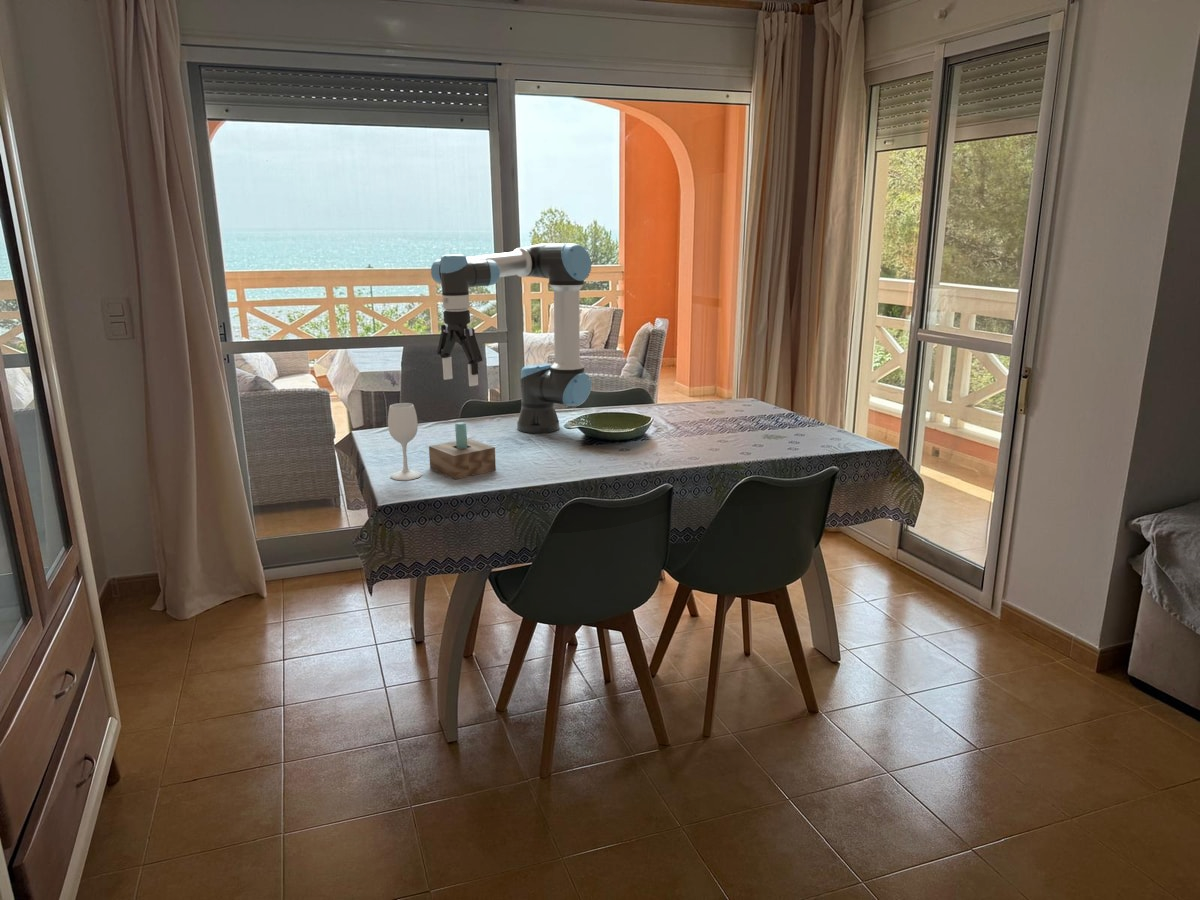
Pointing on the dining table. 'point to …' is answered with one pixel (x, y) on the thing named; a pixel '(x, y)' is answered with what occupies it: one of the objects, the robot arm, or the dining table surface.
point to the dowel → (461, 435)
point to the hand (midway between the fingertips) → (460, 382)
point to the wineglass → (403, 434)
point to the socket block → (462, 459)
